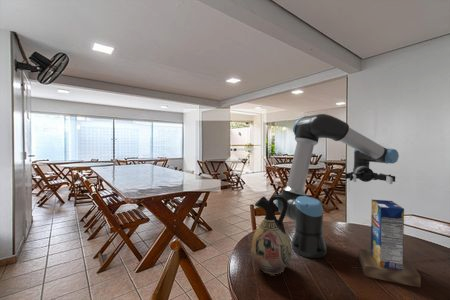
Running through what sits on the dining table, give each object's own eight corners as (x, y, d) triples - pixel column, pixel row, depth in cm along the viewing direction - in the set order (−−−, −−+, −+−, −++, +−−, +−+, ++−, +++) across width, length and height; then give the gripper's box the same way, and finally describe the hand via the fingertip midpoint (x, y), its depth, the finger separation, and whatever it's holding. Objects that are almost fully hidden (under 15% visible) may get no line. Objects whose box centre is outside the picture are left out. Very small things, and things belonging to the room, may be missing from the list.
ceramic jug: (247, 277, 79) (246, 196, 78) (254, 256, 94) (254, 188, 93) (295, 286, 74) (296, 200, 73) (295, 262, 89) (296, 190, 88)
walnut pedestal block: (364, 276, 79) (365, 265, 79) (358, 257, 92) (358, 248, 92) (420, 287, 73) (420, 276, 73) (405, 265, 86) (405, 255, 86)
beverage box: (380, 267, 78) (381, 207, 78) (370, 252, 89) (371, 199, 88) (402, 270, 76) (404, 208, 75) (390, 255, 86) (391, 200, 86)
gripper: (392, 182, 111) (407, 190, 92) (338, 179, 121) (341, 185, 102) (393, 168, 111) (408, 173, 92) (338, 165, 121) (341, 170, 102)
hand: (372, 179), depth 97 cm, fingers open, 13 cm apart
